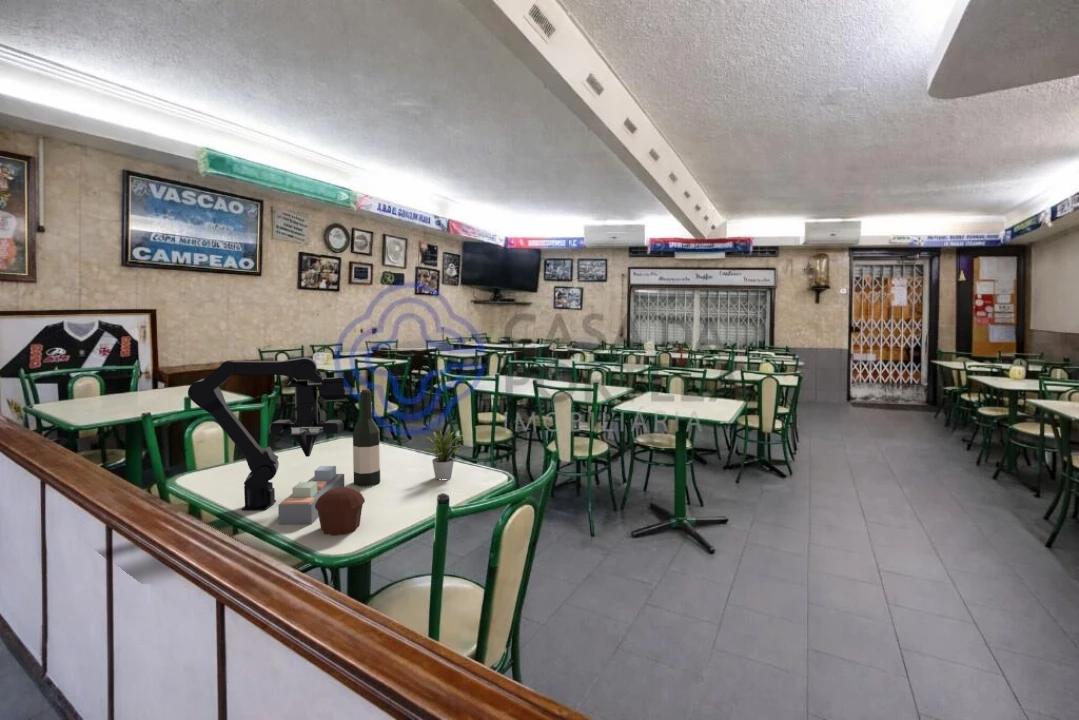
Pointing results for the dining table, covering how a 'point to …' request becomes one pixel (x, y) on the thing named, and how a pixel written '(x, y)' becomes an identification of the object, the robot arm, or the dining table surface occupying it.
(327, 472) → the slate key
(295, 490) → the sage key
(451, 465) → the house plant
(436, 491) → the dining table surface
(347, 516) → the muffin
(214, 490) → the dining table surface
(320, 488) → the terracotta key
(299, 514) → the console
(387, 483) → the dining table surface
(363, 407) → the wine bottle
